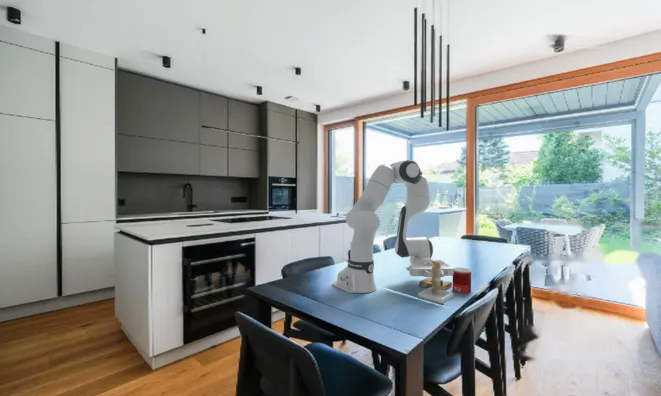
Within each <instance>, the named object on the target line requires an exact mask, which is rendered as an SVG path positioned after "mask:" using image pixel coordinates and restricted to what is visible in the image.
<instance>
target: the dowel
mask: <svg viewBox="0 0 661 396" xmlns="http://www.w3.org/2000/svg"><path fill="white" fill-rule="evenodd" d="M437 260H438V259H434V260H433V261H432V273H433V277H431V278H432V293H434V294H440V293H441V280H442V277H441V261H437Z"/></svg>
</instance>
